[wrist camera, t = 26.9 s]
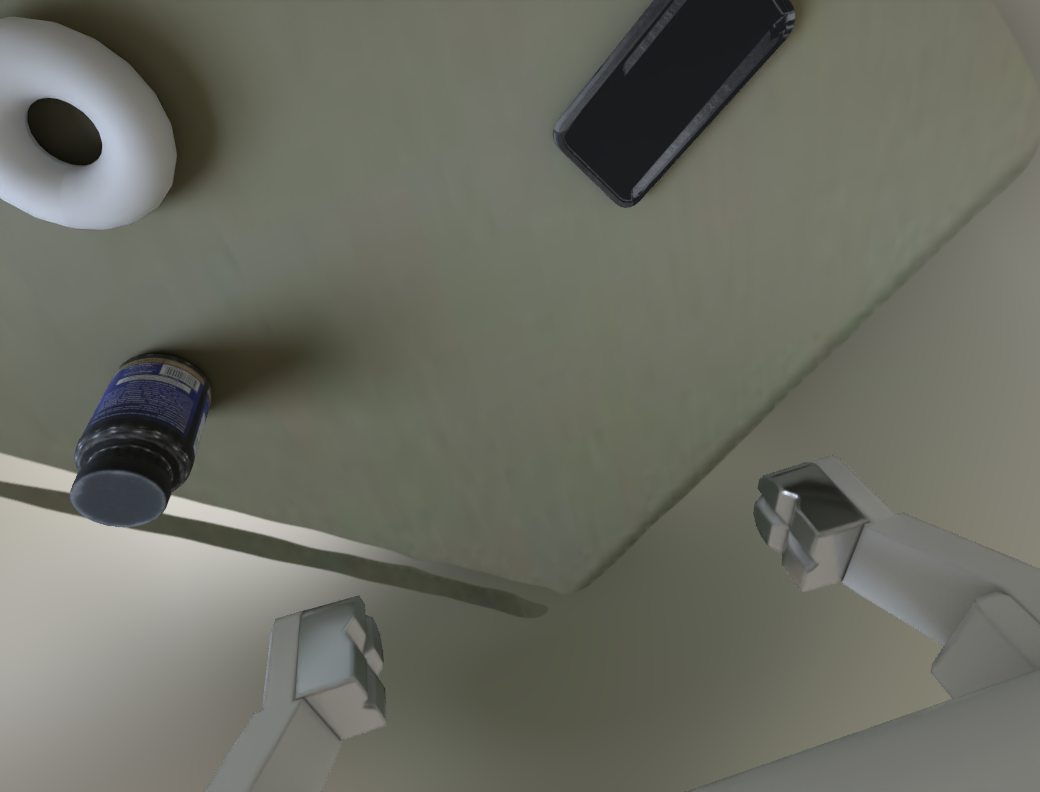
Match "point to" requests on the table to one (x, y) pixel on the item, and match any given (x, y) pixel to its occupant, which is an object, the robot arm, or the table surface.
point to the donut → (109, 105)
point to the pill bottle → (140, 440)
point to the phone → (666, 88)
